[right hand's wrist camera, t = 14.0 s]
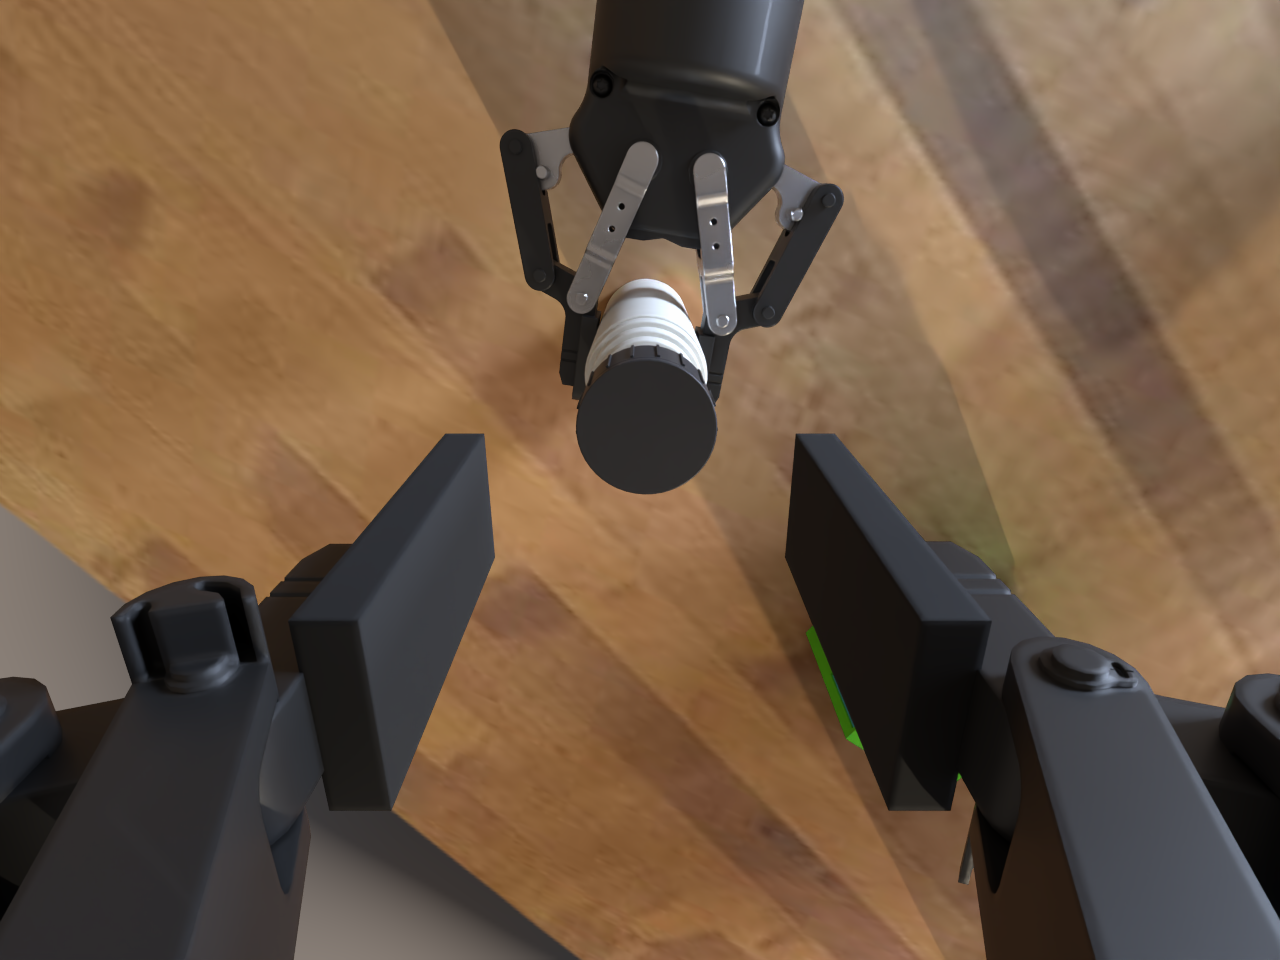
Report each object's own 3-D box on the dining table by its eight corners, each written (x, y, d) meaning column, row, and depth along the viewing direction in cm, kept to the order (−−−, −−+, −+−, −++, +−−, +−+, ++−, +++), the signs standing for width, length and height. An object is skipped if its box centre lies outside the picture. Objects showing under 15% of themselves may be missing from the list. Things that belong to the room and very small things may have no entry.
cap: (619, 491, 22) (616, 518, 20) (556, 381, 20) (546, 399, 18) (733, 435, 21) (742, 459, 19) (674, 318, 20) (678, 330, 18)
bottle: (628, 376, 37) (614, 521, 20) (588, 303, 36) (538, 392, 19) (700, 339, 36) (750, 456, 19) (663, 263, 35) (682, 317, 18)
